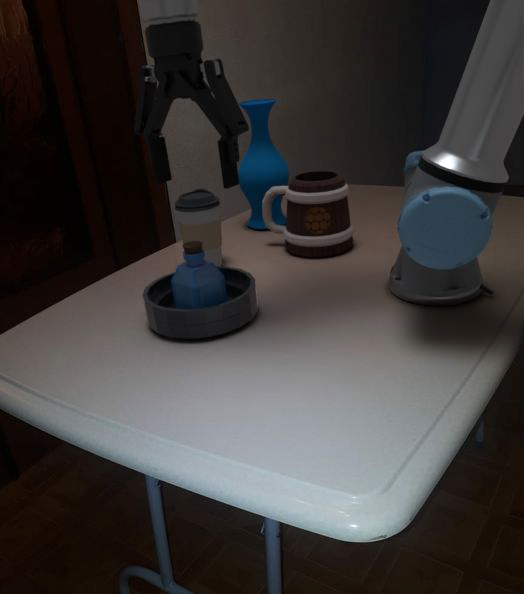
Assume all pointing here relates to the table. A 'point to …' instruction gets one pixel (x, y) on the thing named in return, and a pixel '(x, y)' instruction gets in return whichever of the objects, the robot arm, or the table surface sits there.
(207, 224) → the coffee cup
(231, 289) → the bowl
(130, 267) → the table surface
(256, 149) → the vase
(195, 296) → the perfume bottle
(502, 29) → the robot arm
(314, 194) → the mug
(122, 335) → the table surface
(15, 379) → the table surface
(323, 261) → the table surface
